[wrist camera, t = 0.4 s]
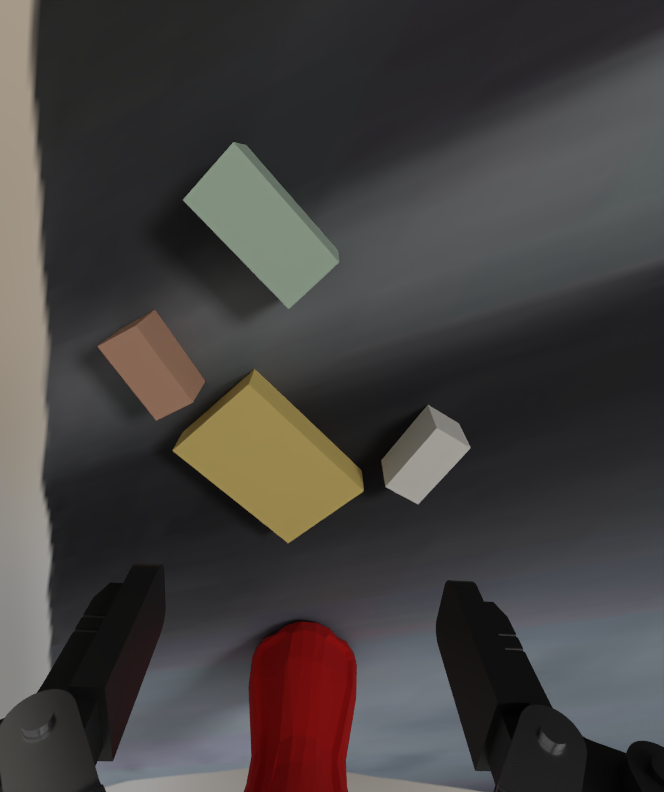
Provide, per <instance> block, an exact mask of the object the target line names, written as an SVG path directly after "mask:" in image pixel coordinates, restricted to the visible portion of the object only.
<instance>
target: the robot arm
mask: <svg viewBox="0 0 664 792" xmlns="http://www.w3.org/2000/svg"><path fill="white" fill-rule="evenodd" d="M165 609H166V604H165V578H164V567H163V565H157V564H138V563H135V564H134V565H133V566H132V567H131V569H130V571H129V573H128V575H127V577H126V579H125V581H124V582H123V583H109V584H108V585H107V586H106V587H105V588H104V589H102V590H101V591H100V592H99V593H98V594H97V595H96V596H94V598H93V599H92V601H91V603H90V604H89V606H88V608H87V609H86V611H85V613H84V616H83V618H81V620H80V621H79V623H78V625H77V626H76V628H75V632H73V633H72V635H71V637H70V638H69V640H68V642H67V643H66V645H65V647H64V648H63V650H62V652H61V654H60V655H59V657H58V659H57V660H56V662H55V664H54V665H53V667H52V669H51V671H50V672H49V674H48V676H47V678H46V679H45V681H44V683H43V684H42V686H41V687H40V689H39V690H38V692H37V693H36V694H33V695H31V696H29V697H28V698H26V699H24V700H23V701H21V702H20V703H19V704H17V705H16V706H15V707H14V708H13V709H12V710H11V711H10V712H9V713H8V714H7V715H6V717H5V718H3V719H1V720H0V792H106V791H105V788H104V786H103V785H101V784H100V781H99V778H98V775H97V771H96V768H95V766H96V763H97V761H113V759H114V757H115V754H116V751H117V749H118V746H119V743H120V741H121V738H122V735H123V733H124V730H125V727H126V725H127V722H128V719H129V716H130V714H131V711H132V708H133V706H134V703H135V700H136V698H137V695H138V692H139V690H140V687H141V684H142V682H143V679H144V676H145V674H146V671H147V668H148V666H149V663H150V660H151V658H152V655H153V652H154V650H155V647H156V644H157V641H158V639H159V636H160V633H161V631H162V627H163V623H164V618H165ZM436 637H437V643H438V646H439V650H440V653H441V657H442V660H443V663H444V667H445V670H446V673H447V677H448V680H449V684H450V687H451V690H452V694H453V697H454V700H455V704H456V707H457V711H458V714H459V717H460V721H461V724H462V727H463V731H464V734H465V738H466V741H467V744H468V748H469V751H470V754H471V758H472V761H473V765H474V768H475V771H491V773H492V776H493V779H494V782H495V788H494V790H493V792H664V747H662V746H660V745H658V744H655V743H652V742H648V741H637V742H634V743H632V744H631V745H630V746H629V748H628V750H627V752H626V753H624V752H621V751H619V750H616V749H613V748H610V747H607V746H605V745H602V744H599V743H596V742H593V741H591V740H589V739H586V738H585V737H583V736H582V735H581V733H580V732H579V730H578V729H577V728H576V726H575V725H574V724H573V723H572V722H571V721H570V720H569V719H568V718H567V717H566V716H564V715H563V714H562V713H560V712H559V711H557V710H555V709H553V708H552V706H551V704H550V702H549V700H548V698H547V696H546V694H545V692H544V690H543V688H542V686H541V684H540V682H539V680H538V678H537V676H536V674H535V672H534V670H533V668H532V666H531V664H530V662H529V660H528V658H527V656H526V654H525V652H523V647H522V645H521V643H520V641H519V639H518V638H517V637H516V633H515V631H514V629H513V627H512V625H511V623H510V621H509V619H508V617H507V616H506V615H505V614H504V613H503V612H502V611H501V610H500V609H499V608H498V607H497V606H496V604H495V603H494V602H484V601H483V598H482V596H481V594H480V592H479V590H478V587H477V585H476V584H475V583H474V582H470V581H450V580H448V581H447V582H446V583H445V587H444V591H443V595H442V599H441V603H440V608H439V612H438V616H437V621H436Z"/></svg>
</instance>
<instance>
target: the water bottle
mask: <svg viewBox="0 0 664 792" xmlns="http://www.w3.org/2000/svg"><path fill="white" fill-rule="evenodd" d="M356 676H357V664H356V660H355V656H354V653H353V651H352V650H351V648H350V647H349V645H348V644H347V642H346V641H344V640H342V639H340V638H338V637H337V636H336V635H335V634H334V633H333V632H332V631H331V630H330V629H329V628H327V627H325V626H323V625H321V624H319V623H317V622H306V621H298V622H295V623H292V624H289V625H287V626H284V627H283V628H282V629H281V630H279V631H278V632H277V633H276V634H273V635H271V636H268V637H265V638H264V640H263V641H262V642H261V643H260V644H259V645H258V646H257V648H256V650H255V652H254V654H253V657H252V664H251V672H250V680H249V707H250V730H251V754H252V757H251V762H250V768H249V774H248V779H247V784H246V787H245V790H244V792H348V789H347V778H346V756H347V750H348V744H349V738H350V732H351V726H352V720H353V714H354V707H355V701H356Z"/></svg>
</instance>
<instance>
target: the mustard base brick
mask: <svg viewBox="0 0 664 792" xmlns="http://www.w3.org/2000/svg"><path fill="white" fill-rule="evenodd" d="M172 451H173V452H175V453H176V454H177V455H178V456H180V457H181V458H182V459H183V460H185V461H186V462H187V463H188V464H190V465H191V466H192V467H193V468H195V469H196V470H197V471H198V472H200V473H201V474H202V475H203V476H205V477H206V478H207V479H208V480H210V481H211V482H212V483H213V484H215V485H216V486H217V487H218V488H220V489H221V490H222V491H223V492H225V493H226V494H227V495H228V496H230V497H231V498H232V499H233V500H235V501H236V502H237V503H238V504H240V505H241V506H242V507H243V508H245V509H246V510H247V511H248V512H250V513H251V514H252V515H253V516H255V517H256V518H257V519H258V520H260V521H261V522H262V523H263V524H265V525H266V526H267V527H269V528H270V529H271V530H272V531H274V532H275V533H276V534H277V535H279V536H280V537H281V538H282V539H284V540H285V541H286V542H287V543H289V542H291V541H292V540H294V539H295V538H296V537H298V536H299V535H301V534H302V533H304V532H305V531H307V530H308V529H309V528H311V527H312V526H314V525H315V524H317V523H318V522H320V521H321V520H322V519H324V518H325V517H327V516H328V515H330V514H331V513H333V512H334V511H336V510H337V509H338V508H340V507H341V506H343V505H344V504H346V503H347V502H349V501H350V500H351V499H353V498H354V497H356V496H357V495H359V494H360V493H362V492H363V491H364V488H363V478H362V470H361V469H360V468H358V467H357V466H356V465H355V464H354V463H353V462H352V461H351V460H350V459H349V458H348V457H347V456H346V455H345V454H344V453H343V452H342V451H341V450H340V449H338V448H337V447H336V446H335V445H334V444H333V443H332V442H331V441H330V440H329V439H328V438H327V437H326V436H325V435H324V434H323V433H322V432H321V431H320V430H318V429H317V428H316V427H315V426H314V425H313V424H312V423H311V422H310V421H309V420H308V419H307V418H306V417H305V416H304V415H303V414H302V413H301V412H300V411H298V410H297V409H296V408H295V407H294V406H293V405H292V404H291V403H290V402H289V401H288V400H287V399H286V398H285V397H284V396H283V395H282V394H281V393H279V392H278V391H277V390H276V389H275V388H274V387H273V386H272V385H271V384H270V383H269V382H268V381H267V380H266V379H265V378H264V377H263V376H262V375H261V374H259V373H258V372H257V371H256V370H255V369H254V370H253V371H252V372H251V373H250V374H248V375H247V376H246V377H245V378H244V379H243V380H242V381H240V382H239V383H238V384H237V385H236V386H235V387H234V388H232V389H231V390H230V391H229V392H228V393H227V394H226V395H224V396H223V397H222V398H221V399H220V400H219V401H218V402H217V403H215V404H214V405H213V406H212V407H211V408H210V409H209V410H207V411H206V412H205V413H204V414H203V415H202V416H201V417H199V418H198V419H197V420H196V421H195V422H194V423H193V424H192V425H190V426H189V427H188V428H187V429H186V430H185V431H184V432H183V433H182V435H181V436H180V438H179V440H178V442H177V443H176V445H175V447H174V449H173V450H172Z"/></svg>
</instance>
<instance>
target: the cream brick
mask: <svg viewBox="0 0 664 792" xmlns="http://www.w3.org/2000/svg"><path fill="white" fill-rule="evenodd" d="M469 449H470V446H469V444H468V441H467V439H466V437H465V435H464V433H463V431H462V429H461V427H460V425H459V423H457V422H455V421H454V420H452V419H450V418H449V417H447V416H446V415H444V414H442V413H441V412H439V411H437V410H436V409H434V408H432V407H431V406H429V405H427V406H426V408H425V409H424V410H423V411H422V412H421V414H420V415H419V416H418V417H417V418H416V420H415V421H414V422H413V423H412V424H411V425H410V427H409V428H408V429H407V430H406V431H405V433H404V434H403V435H402V436H401V437H400V439H399V440H398V441H397V442H396V443H395V445H394V446H393V447H392V448H391V449H390V451H389V452H388V453H387V454H386V455H385V457H384V458H383V459H382V460H381V462H382V468H383V475H384V481H385V487H386V488H388V489H390V490H392V491H394V492H396V493H398V494H400V495H401V496H403V497H405V498H407V499H409V500H411V501H413V502H415V503H416V504H419V503H420V502H421V501H422V500H423V498H424V497H425V496H426V495H427V494H428V493H429V492H430V491H431V490H432V489H433V488H434V487H435V486H436V485H437V483H438V482H439V481H440V480H441V479H442V478H443V477H444V476H445V475H446V474H447V473H448V472H449V471H450V470H451V468H452V467H453V466H454V465H455V464H456V463H457V462H458V461H459V460H460V459H461V458H462V457H463V456H464V454H465V453H466V452H467V451H468V450H469Z"/></svg>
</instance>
